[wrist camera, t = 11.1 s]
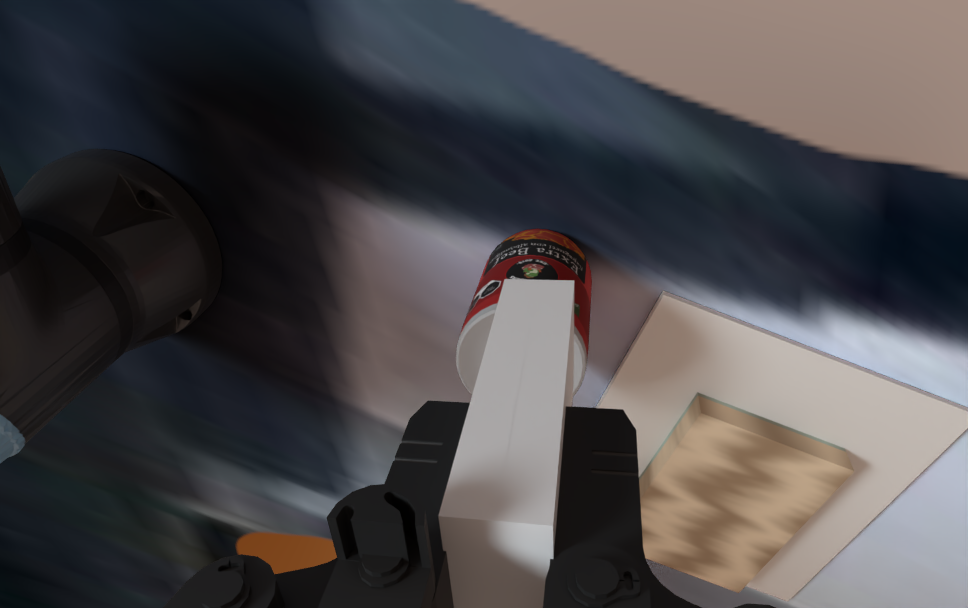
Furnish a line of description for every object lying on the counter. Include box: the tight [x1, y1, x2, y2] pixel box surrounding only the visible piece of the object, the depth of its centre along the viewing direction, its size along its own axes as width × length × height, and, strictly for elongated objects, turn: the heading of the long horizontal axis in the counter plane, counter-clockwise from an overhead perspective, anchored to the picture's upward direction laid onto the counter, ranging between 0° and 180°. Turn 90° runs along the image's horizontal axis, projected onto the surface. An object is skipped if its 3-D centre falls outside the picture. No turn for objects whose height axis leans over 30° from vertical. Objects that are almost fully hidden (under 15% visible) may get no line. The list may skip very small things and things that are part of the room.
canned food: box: [456, 229, 592, 396], centre depth 42 cm, size 8×8×11 cm
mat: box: [595, 291, 968, 601], centre depth 52 cm, size 24×24×1 cm
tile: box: [639, 392, 854, 593], centre depth 52 cm, size 12×2×16 cm
